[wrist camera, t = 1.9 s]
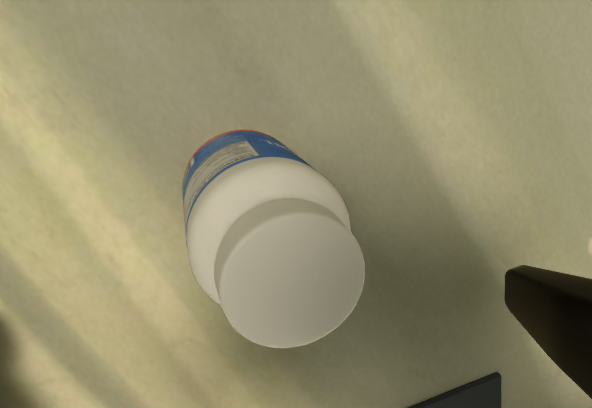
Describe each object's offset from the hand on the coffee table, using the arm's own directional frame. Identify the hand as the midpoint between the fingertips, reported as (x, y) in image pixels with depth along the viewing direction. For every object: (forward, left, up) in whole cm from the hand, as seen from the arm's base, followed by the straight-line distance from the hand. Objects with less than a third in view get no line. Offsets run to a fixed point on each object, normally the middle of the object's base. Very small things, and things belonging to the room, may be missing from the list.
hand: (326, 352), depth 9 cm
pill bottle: (0, 0, -12) cm, 12 cm away
